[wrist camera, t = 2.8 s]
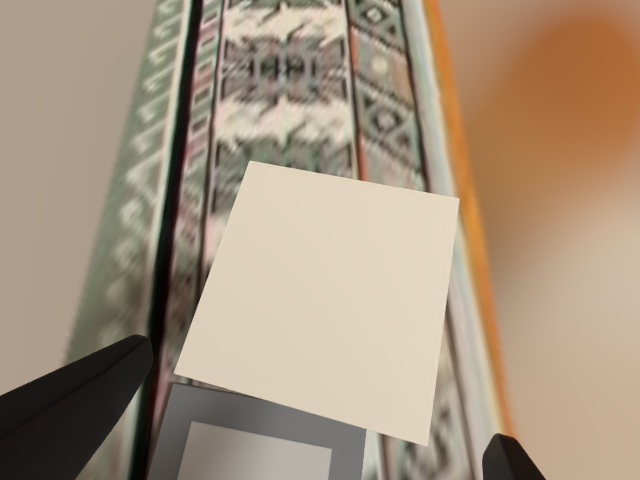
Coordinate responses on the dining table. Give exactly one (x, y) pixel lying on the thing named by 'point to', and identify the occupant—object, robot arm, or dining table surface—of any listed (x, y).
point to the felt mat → (251, 440)
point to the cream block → (328, 299)
